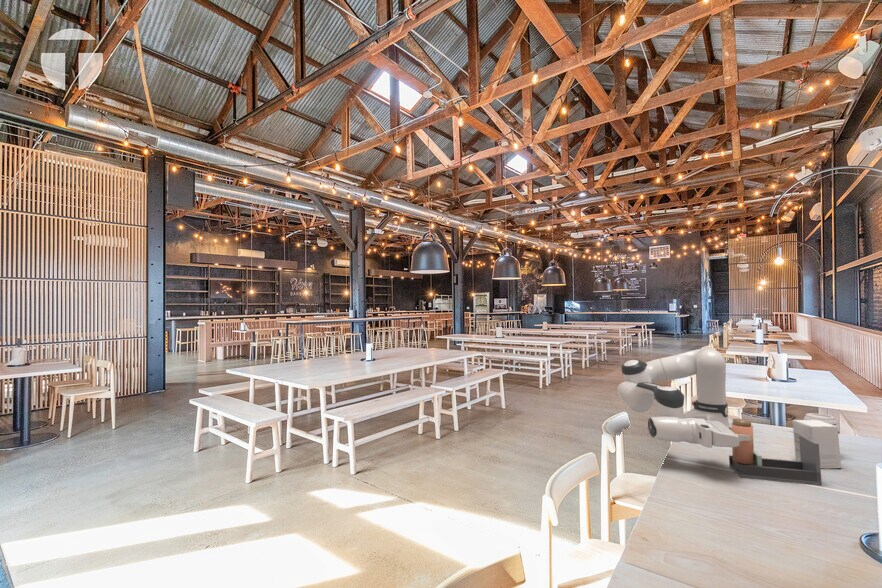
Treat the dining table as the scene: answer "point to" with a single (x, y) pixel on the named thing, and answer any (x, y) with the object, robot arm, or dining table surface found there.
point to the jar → (743, 442)
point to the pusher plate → (757, 459)
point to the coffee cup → (821, 418)
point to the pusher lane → (786, 466)
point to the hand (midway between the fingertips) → (745, 434)
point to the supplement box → (819, 441)
